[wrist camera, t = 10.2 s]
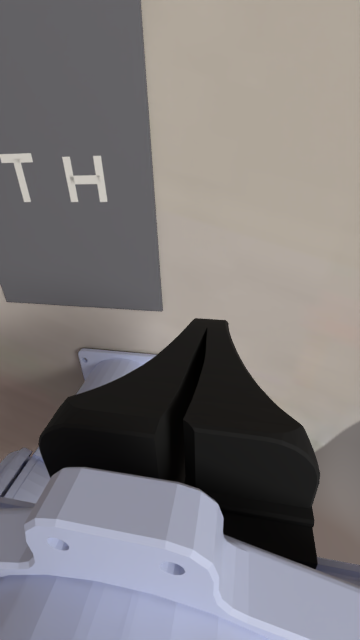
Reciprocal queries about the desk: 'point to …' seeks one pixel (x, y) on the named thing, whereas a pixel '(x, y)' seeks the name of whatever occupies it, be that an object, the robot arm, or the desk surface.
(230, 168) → the desk surface
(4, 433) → the desk surface
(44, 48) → the mat
